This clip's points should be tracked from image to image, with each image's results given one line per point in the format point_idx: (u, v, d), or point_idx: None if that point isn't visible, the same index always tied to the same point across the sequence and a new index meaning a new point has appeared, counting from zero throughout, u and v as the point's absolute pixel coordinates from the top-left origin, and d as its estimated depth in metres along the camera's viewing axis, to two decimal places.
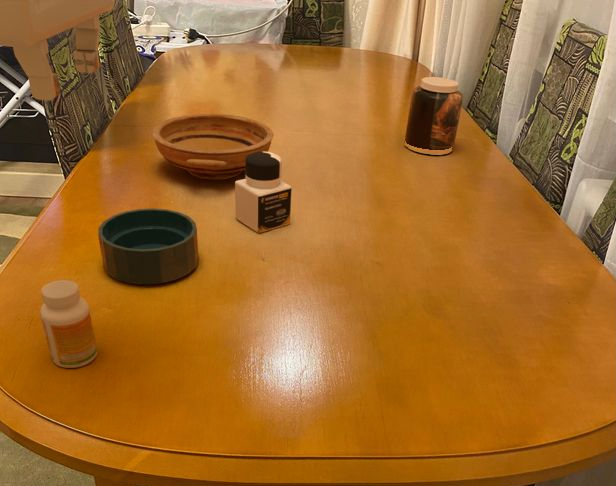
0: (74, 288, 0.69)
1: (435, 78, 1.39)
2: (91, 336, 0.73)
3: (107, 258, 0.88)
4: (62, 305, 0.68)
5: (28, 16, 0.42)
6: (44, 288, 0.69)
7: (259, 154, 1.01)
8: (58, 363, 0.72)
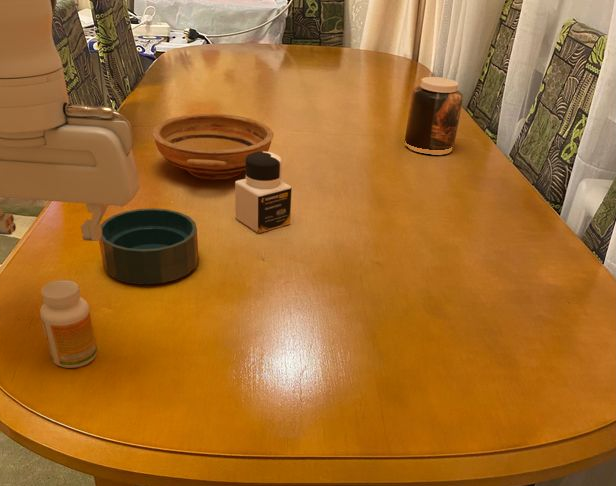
0: (74, 288, 0.69)
1: (435, 78, 1.38)
2: (91, 336, 0.73)
3: (107, 258, 0.88)
4: (62, 305, 0.68)
5: None
6: (44, 288, 0.69)
7: (259, 154, 1.01)
8: (58, 363, 0.72)
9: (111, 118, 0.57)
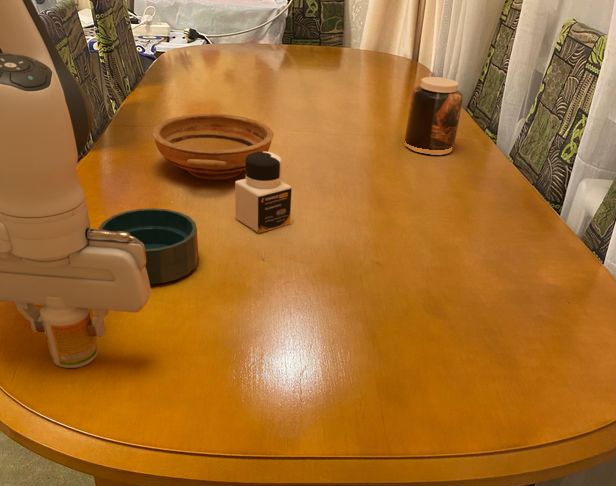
0: None
1: (435, 78, 1.38)
2: (92, 336, 0.73)
3: None
4: (63, 306, 0.68)
5: None
6: None
7: (259, 154, 1.01)
8: (58, 363, 0.72)
9: (127, 241, 0.64)
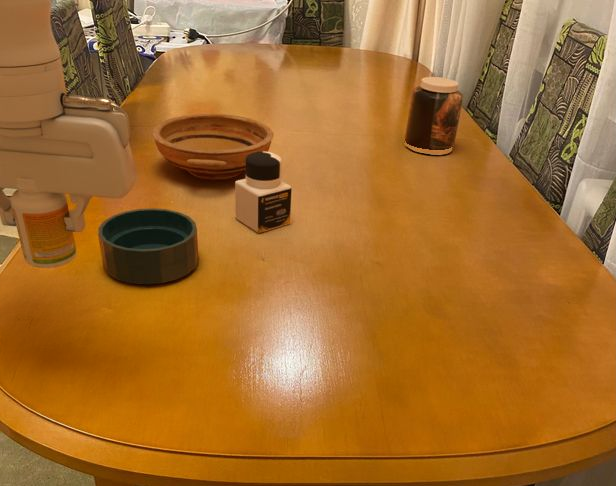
0: None
1: (435, 78, 1.38)
2: (69, 232, 0.64)
3: (107, 258, 0.88)
4: (35, 190, 0.60)
5: None
6: None
7: (259, 154, 1.01)
8: (31, 262, 0.64)
9: (109, 110, 0.56)
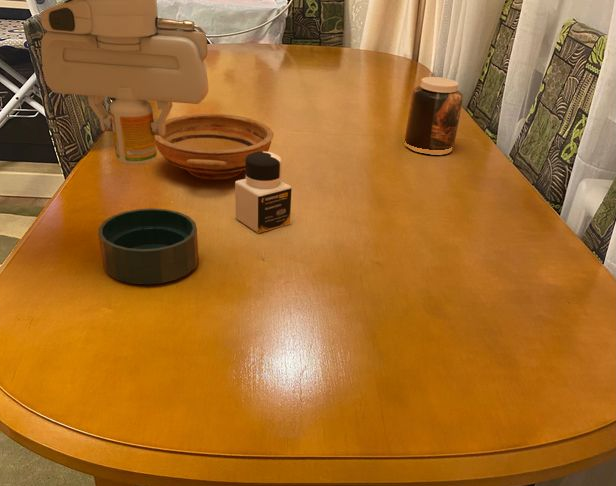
0: None
1: (435, 78, 1.38)
2: (153, 136, 0.81)
3: (107, 258, 0.88)
4: (131, 97, 0.76)
5: (47, 76, 0.75)
6: None
7: (259, 154, 1.01)
8: (123, 160, 0.81)
9: (192, 30, 0.73)
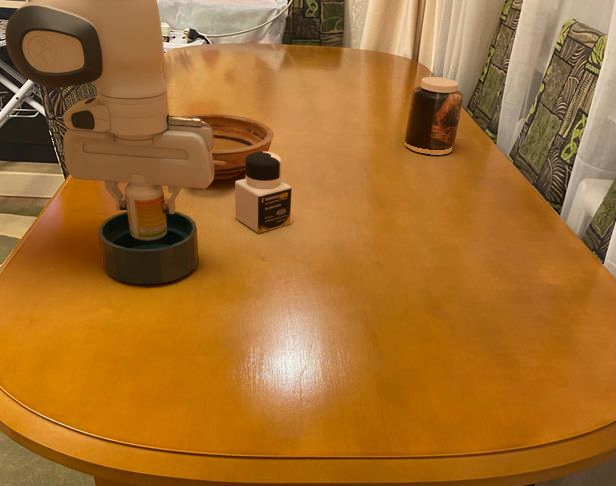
0: None
1: (435, 78, 1.38)
2: (164, 214, 0.89)
3: (107, 258, 0.88)
4: (144, 183, 0.84)
5: (68, 165, 0.83)
6: None
7: (259, 154, 1.01)
8: (137, 236, 0.88)
9: (200, 126, 0.80)
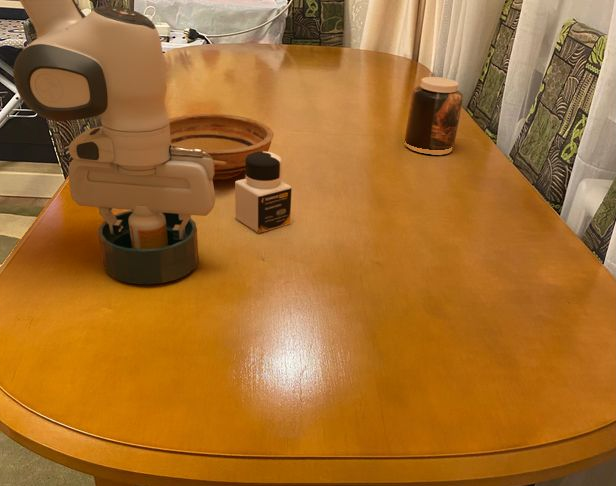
0: None
1: (435, 78, 1.38)
2: (166, 242, 0.91)
3: (107, 258, 0.88)
4: (148, 213, 0.87)
5: (73, 193, 0.85)
6: None
7: (259, 154, 1.01)
8: None
9: (201, 156, 0.83)
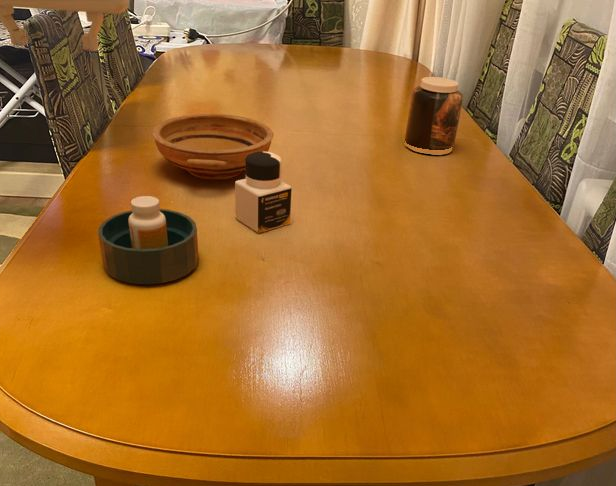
0: (156, 201, 0.88)
1: (435, 78, 1.38)
2: (166, 242, 0.91)
3: (107, 258, 0.88)
4: (148, 213, 0.87)
5: None
6: (133, 200, 0.87)
7: (259, 154, 1.01)
8: None
9: None
